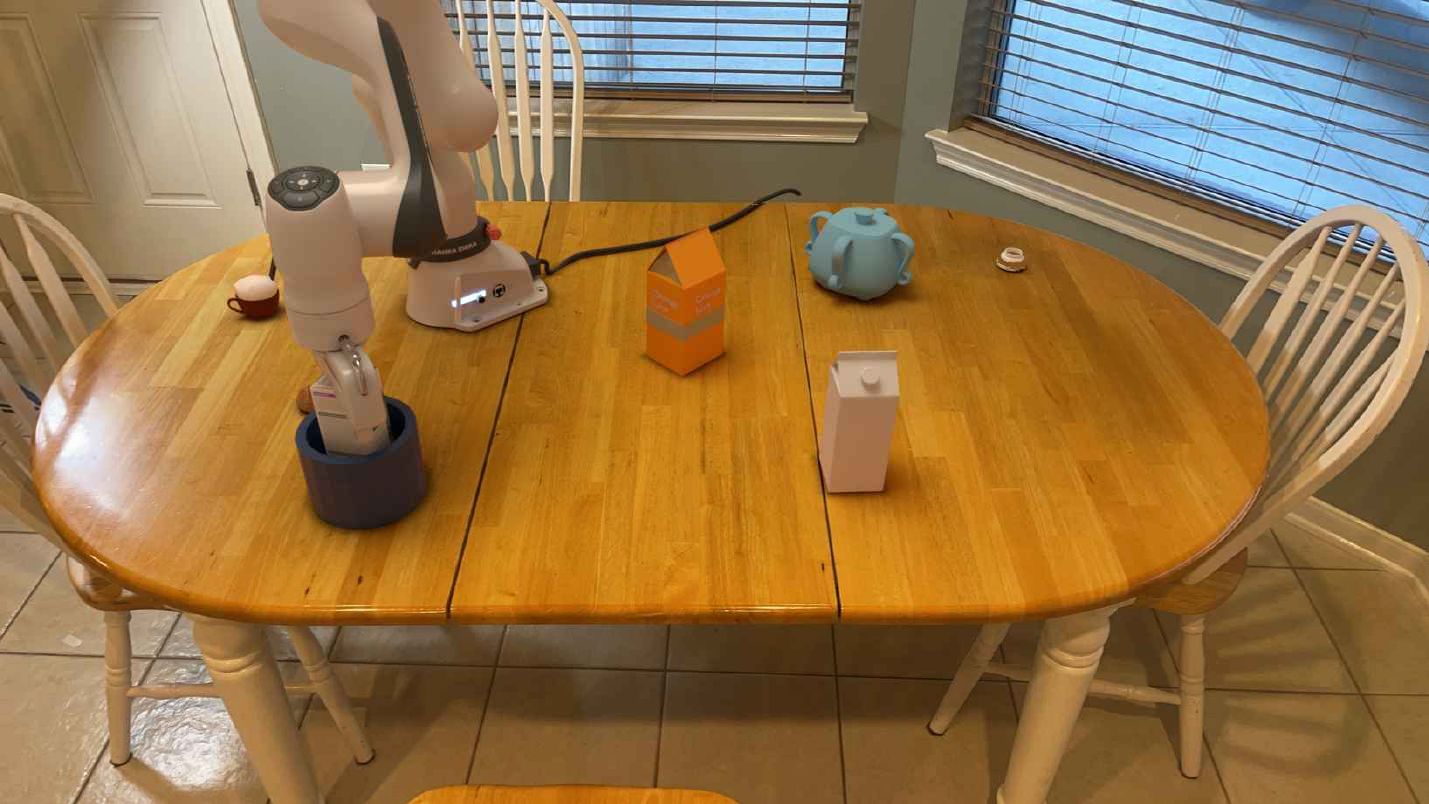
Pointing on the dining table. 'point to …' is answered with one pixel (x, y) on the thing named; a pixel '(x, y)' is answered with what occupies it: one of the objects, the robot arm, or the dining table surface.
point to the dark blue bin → (364, 474)
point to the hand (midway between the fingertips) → (353, 418)
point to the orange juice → (686, 303)
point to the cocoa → (257, 294)
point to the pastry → (305, 400)
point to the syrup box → (344, 424)
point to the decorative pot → (859, 252)
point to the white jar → (1011, 258)
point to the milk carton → (859, 420)
